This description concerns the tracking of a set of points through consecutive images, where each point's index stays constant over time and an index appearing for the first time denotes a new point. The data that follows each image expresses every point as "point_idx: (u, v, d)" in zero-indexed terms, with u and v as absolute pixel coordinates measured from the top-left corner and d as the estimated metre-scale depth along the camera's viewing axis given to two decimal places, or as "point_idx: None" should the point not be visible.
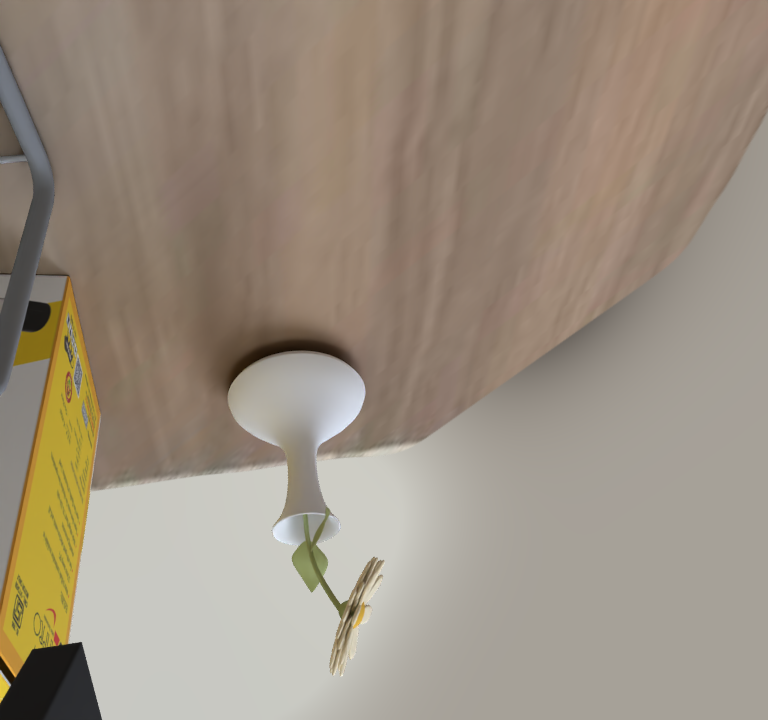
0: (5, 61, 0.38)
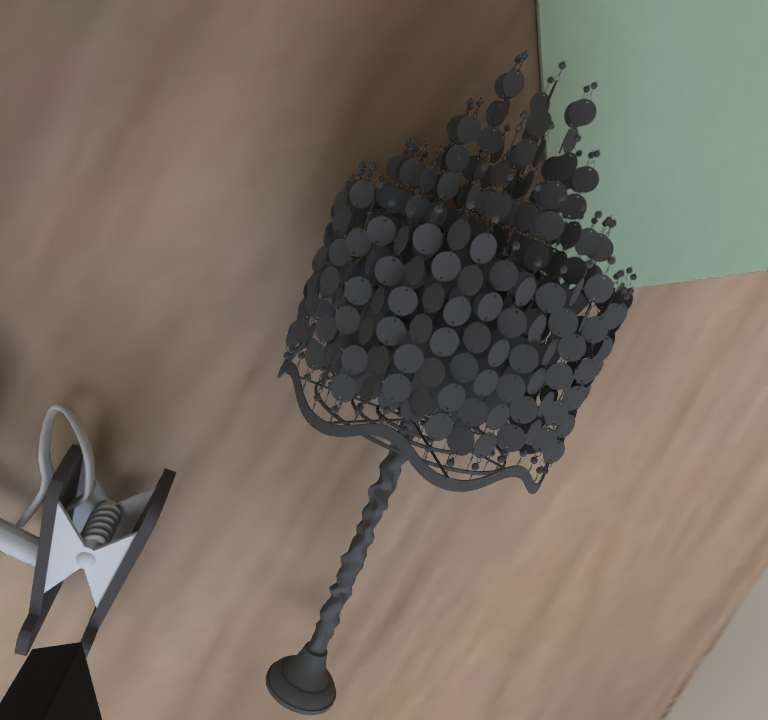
0: None
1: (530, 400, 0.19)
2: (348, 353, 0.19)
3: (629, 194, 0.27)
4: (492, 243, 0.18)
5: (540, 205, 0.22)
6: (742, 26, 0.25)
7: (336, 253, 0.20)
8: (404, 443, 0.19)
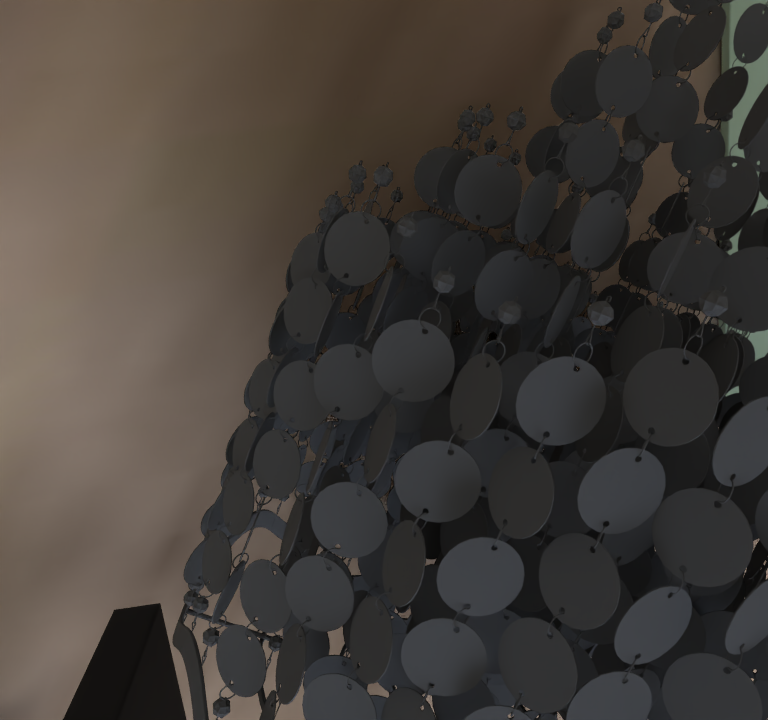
0: None
1: None
2: (323, 693, 0.07)
3: None
4: None
5: None
6: None
7: (291, 396, 0.08)
8: None
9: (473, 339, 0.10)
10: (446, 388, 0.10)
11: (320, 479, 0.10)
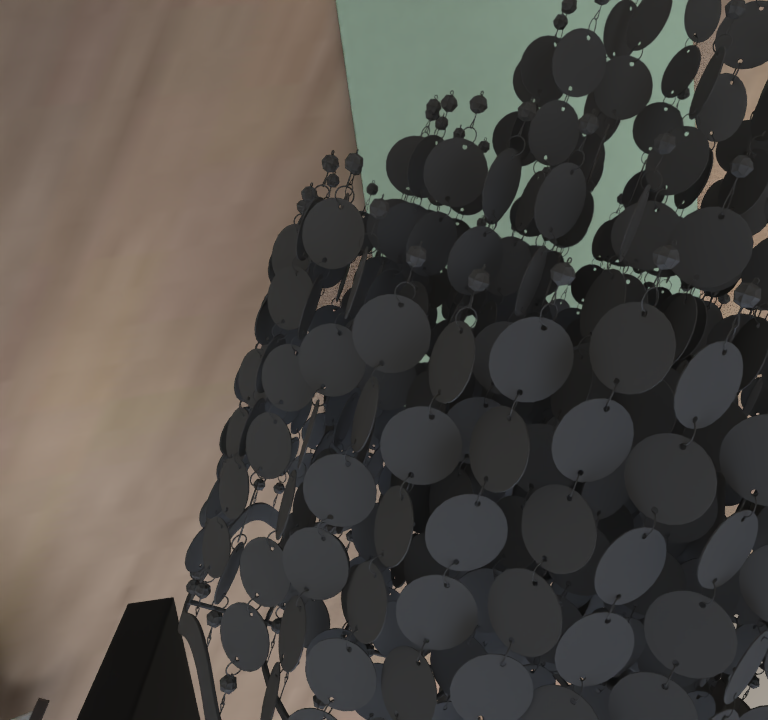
0: None
1: None
2: (323, 657, 0.07)
3: None
4: (733, 366, 0.06)
5: None
6: None
7: (279, 379, 0.08)
8: None
9: None
10: None
11: (312, 463, 0.10)
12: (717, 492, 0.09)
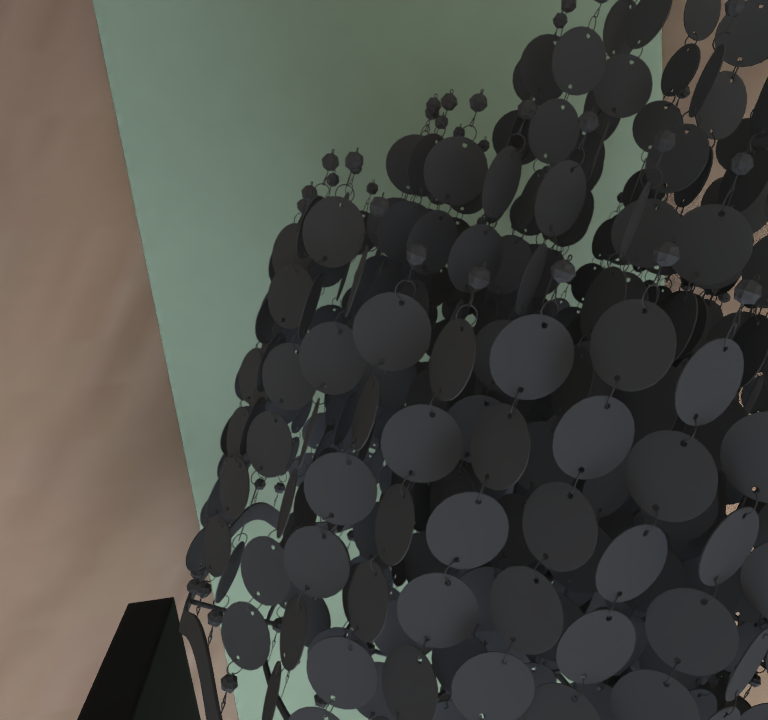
0: None
1: None
2: (324, 656, 0.07)
3: None
4: (733, 362, 0.06)
5: None
6: None
7: (280, 377, 0.08)
8: None
9: None
10: None
11: (313, 462, 0.10)
12: (718, 490, 0.09)
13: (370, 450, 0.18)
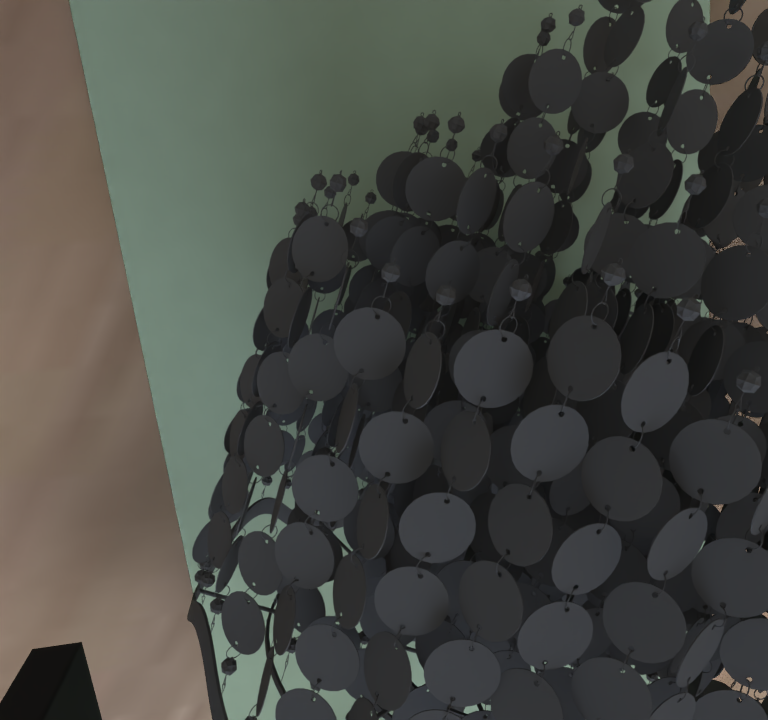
0: None
1: None
2: (312, 641, 0.08)
3: None
4: (679, 374, 0.06)
5: (713, 236, 0.10)
6: None
7: (273, 384, 0.09)
8: None
9: (444, 325, 0.11)
10: None
11: None
12: None
13: None
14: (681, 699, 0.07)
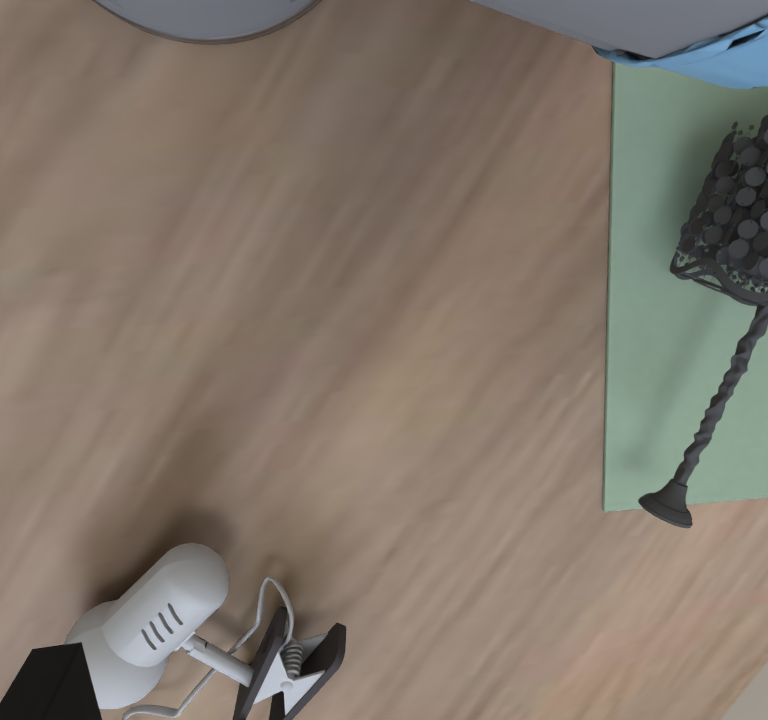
0: None
1: None
2: None
3: (659, 448, 0.39)
4: None
5: None
6: None
7: (751, 177, 0.29)
8: None
9: None
10: None
11: None
12: None
13: (697, 268, 0.37)
14: None
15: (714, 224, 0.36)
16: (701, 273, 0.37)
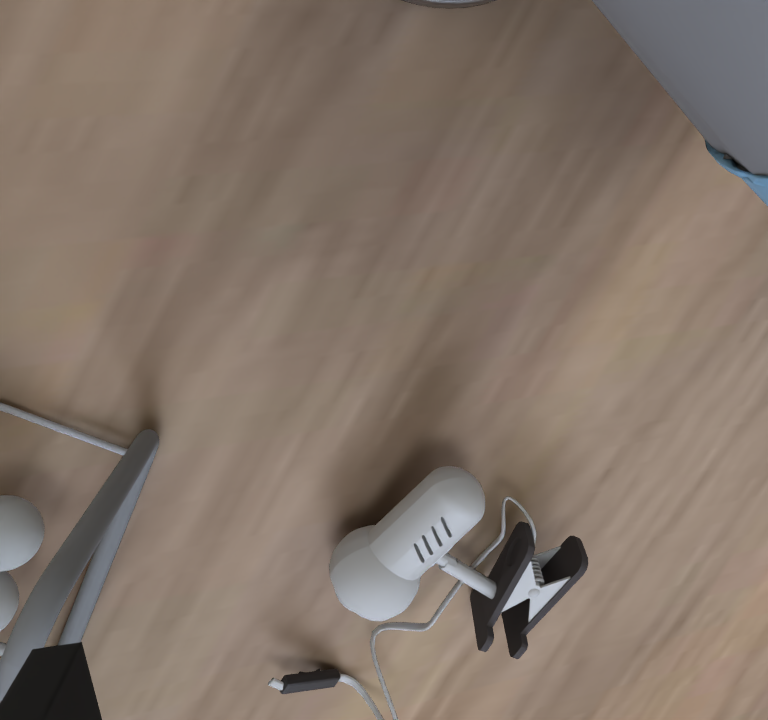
0: None
1: None
2: None
3: None
4: None
5: None
6: None
7: None
8: None
9: None
10: None
11: None
12: None
13: None
14: None
15: None
16: None
